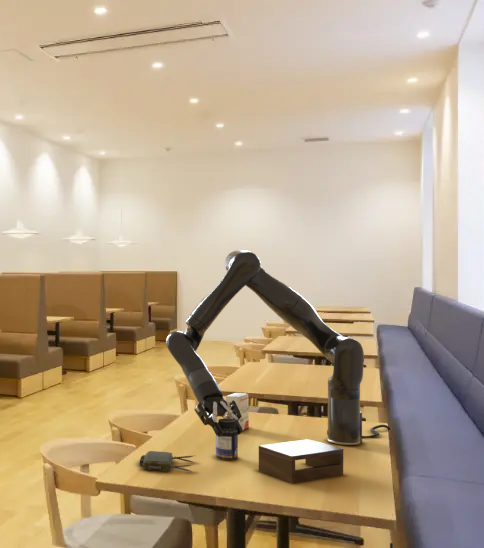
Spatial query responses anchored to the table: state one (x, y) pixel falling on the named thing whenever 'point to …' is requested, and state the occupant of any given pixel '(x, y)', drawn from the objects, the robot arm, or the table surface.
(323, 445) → the shelf
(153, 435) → the table surface
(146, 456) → the landmine
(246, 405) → the ink box
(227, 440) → the pill bottle
